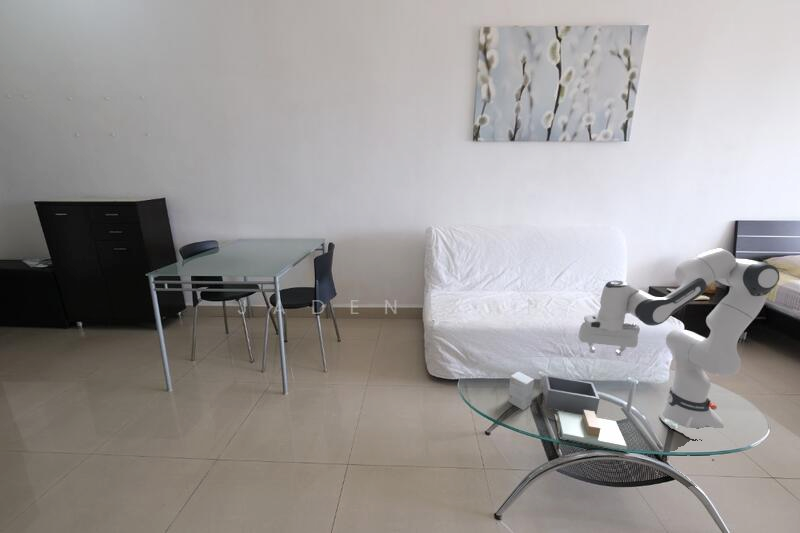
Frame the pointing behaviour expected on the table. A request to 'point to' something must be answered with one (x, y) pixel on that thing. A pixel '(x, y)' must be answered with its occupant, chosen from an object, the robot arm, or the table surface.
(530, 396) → the small box
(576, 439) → the lid
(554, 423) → the table surface
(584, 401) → the storage box
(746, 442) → the table surface
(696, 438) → the table surface
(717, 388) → the table surface
